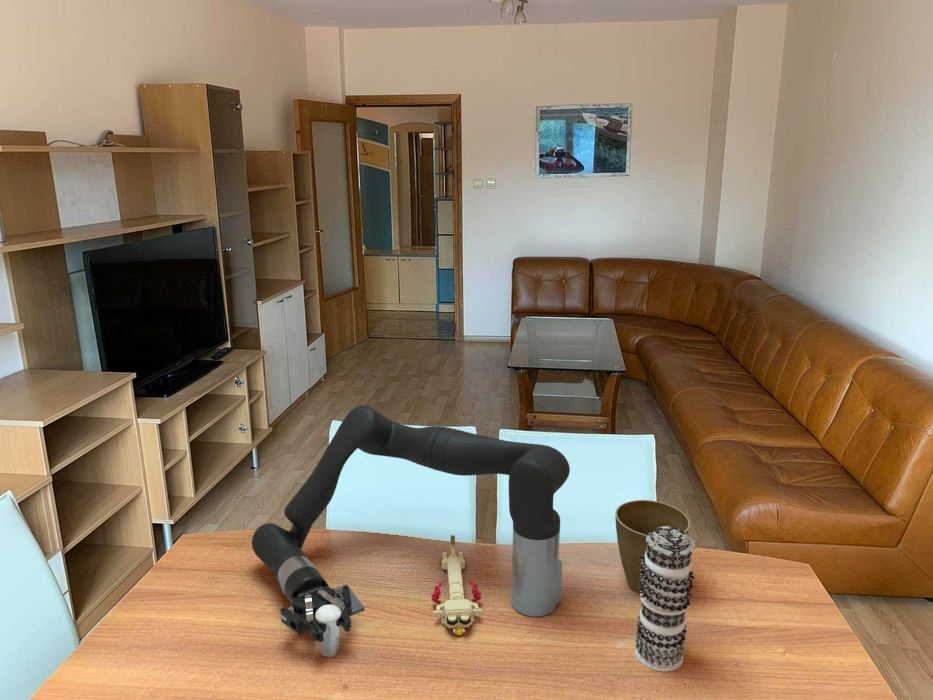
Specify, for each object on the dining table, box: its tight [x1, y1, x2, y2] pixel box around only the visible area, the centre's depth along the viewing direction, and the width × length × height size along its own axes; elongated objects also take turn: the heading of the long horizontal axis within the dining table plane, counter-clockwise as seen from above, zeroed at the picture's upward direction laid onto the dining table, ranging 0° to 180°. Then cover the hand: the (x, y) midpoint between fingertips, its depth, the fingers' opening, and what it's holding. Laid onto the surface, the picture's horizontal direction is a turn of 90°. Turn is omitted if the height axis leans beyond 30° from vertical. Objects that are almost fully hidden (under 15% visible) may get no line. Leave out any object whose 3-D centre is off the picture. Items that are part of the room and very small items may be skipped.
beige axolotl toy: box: [431, 534, 483, 636], centre depth 139 cm, size 10×9×25 cm
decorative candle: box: [635, 526, 696, 673], centre depth 120 cm, size 9×9×25 cm
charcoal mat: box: [290, 584, 365, 633], centre depth 136 cm, size 12×9×1 cm
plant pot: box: [614, 499, 691, 593], centre depth 142 cm, size 15×15×16 cm
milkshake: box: [315, 605, 345, 658], centre depth 123 cm, size 4×5×10 cm
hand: (334, 632), depth 121 cm, fingers closed on milkshake, 4 cm apart
